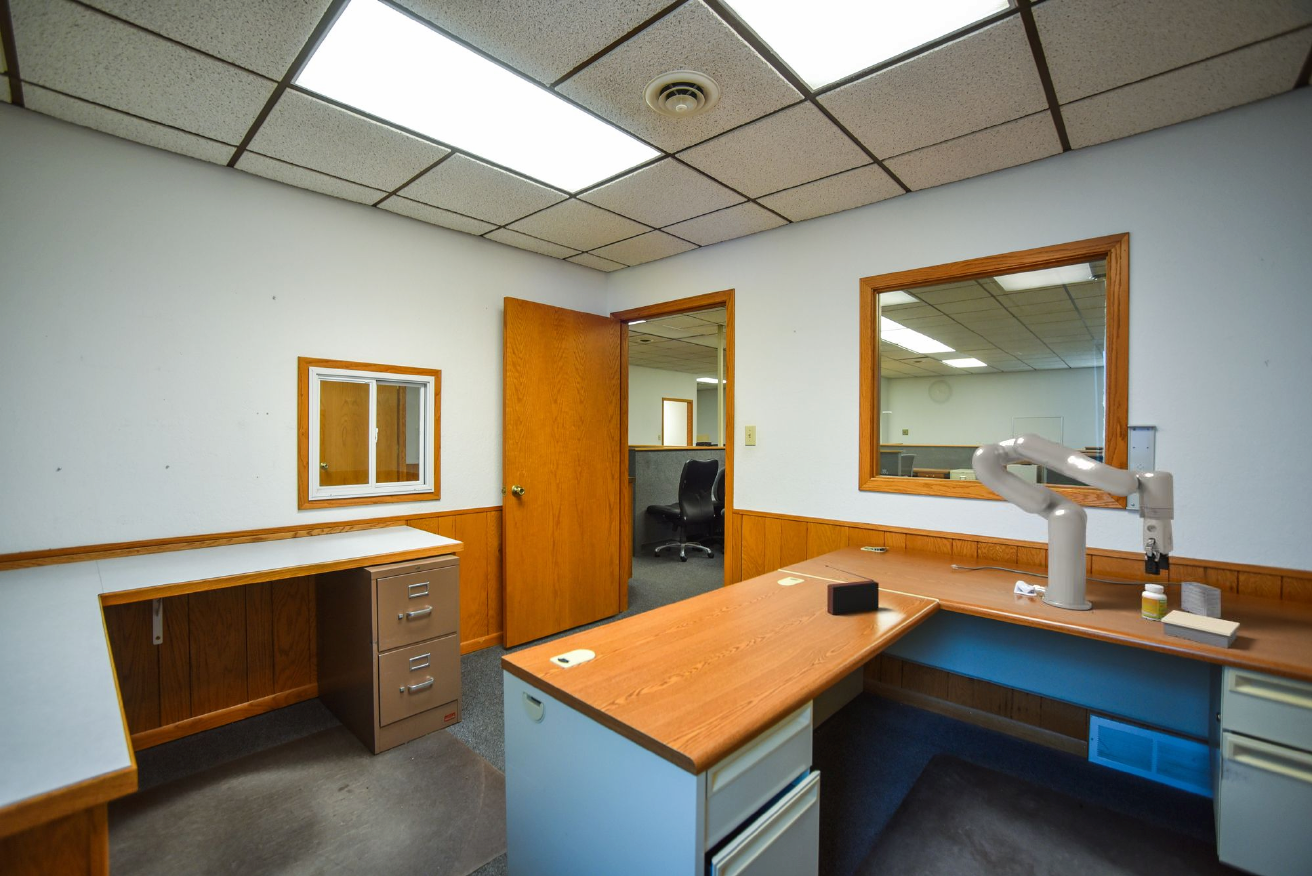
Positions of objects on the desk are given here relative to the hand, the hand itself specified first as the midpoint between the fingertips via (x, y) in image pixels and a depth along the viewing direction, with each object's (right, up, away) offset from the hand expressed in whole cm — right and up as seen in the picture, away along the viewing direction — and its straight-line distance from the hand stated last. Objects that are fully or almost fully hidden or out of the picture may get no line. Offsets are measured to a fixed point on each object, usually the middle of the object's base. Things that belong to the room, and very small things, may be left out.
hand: (1157, 571), depth 160 cm
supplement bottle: (0, -14, +1) cm, 14 cm away
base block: (-1, -14, -13) cm, 19 cm away
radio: (-88, -14, +7) cm, 89 cm away
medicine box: (+17, -14, +5) cm, 23 cm away
